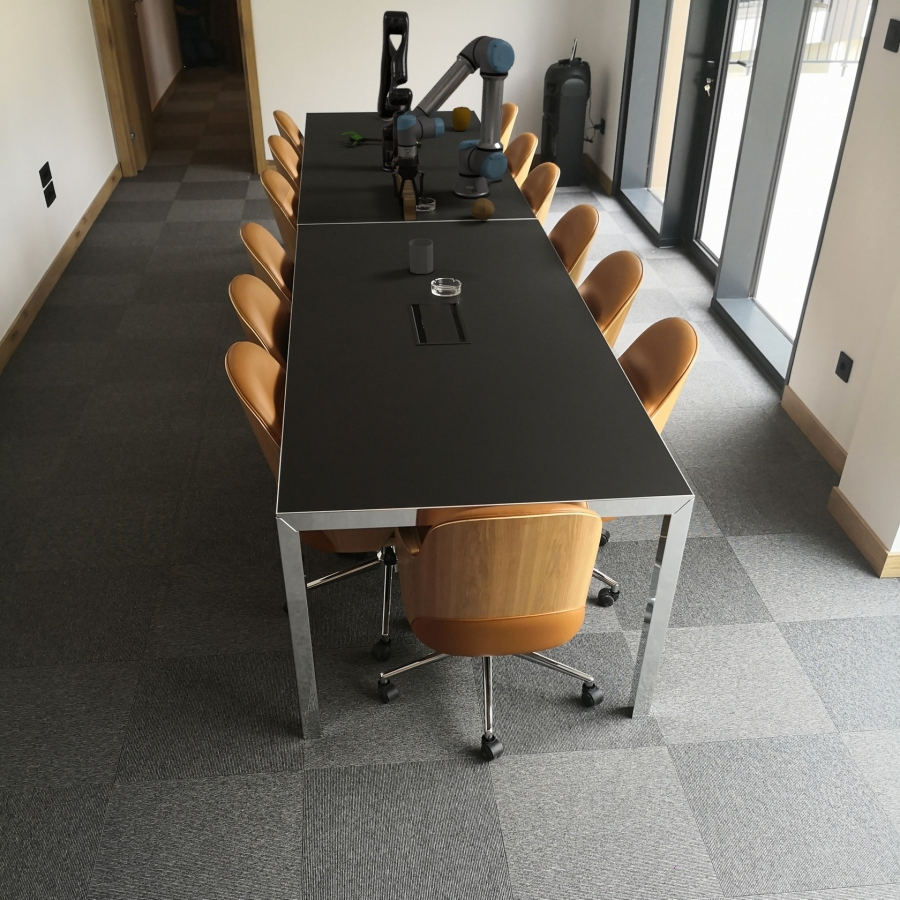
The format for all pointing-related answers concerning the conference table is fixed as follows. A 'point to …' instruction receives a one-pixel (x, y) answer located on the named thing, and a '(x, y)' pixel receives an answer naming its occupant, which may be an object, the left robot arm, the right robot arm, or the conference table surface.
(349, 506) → the conference table surface
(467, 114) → the apple
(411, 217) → the post
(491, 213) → the potato
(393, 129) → the left robot arm
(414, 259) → the cup
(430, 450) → the conference table surface
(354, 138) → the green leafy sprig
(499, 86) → the right robot arm
